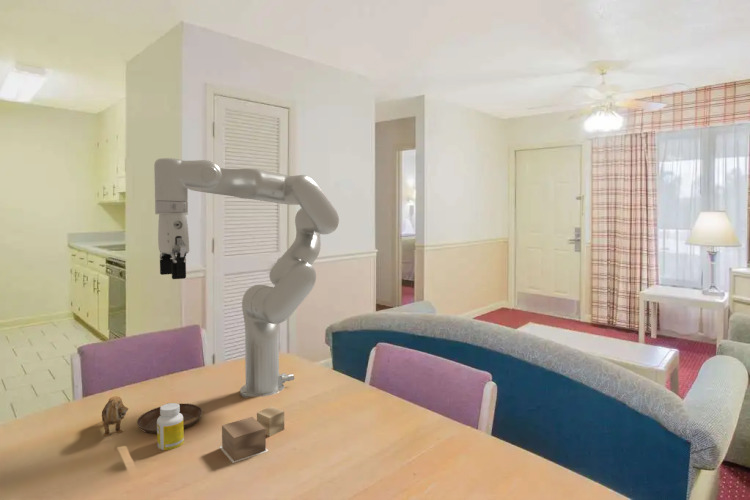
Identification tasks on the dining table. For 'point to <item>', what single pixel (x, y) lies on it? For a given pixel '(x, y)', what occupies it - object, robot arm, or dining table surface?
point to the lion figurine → (113, 414)
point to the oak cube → (271, 420)
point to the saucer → (150, 418)
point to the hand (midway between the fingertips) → (172, 276)
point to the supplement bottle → (170, 427)
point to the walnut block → (243, 438)
